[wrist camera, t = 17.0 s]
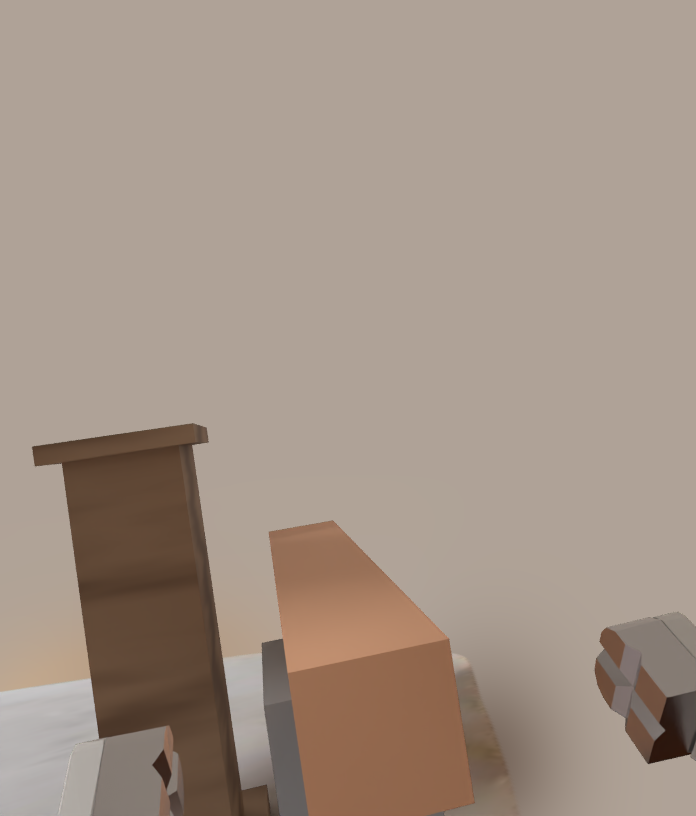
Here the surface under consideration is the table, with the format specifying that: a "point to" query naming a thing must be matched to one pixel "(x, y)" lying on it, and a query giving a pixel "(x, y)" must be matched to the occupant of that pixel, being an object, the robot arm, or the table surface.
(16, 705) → the table surface
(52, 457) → the walnut tower
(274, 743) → the slate pillar
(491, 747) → the table surface
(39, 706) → the table surface
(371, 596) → the terracotta beam
